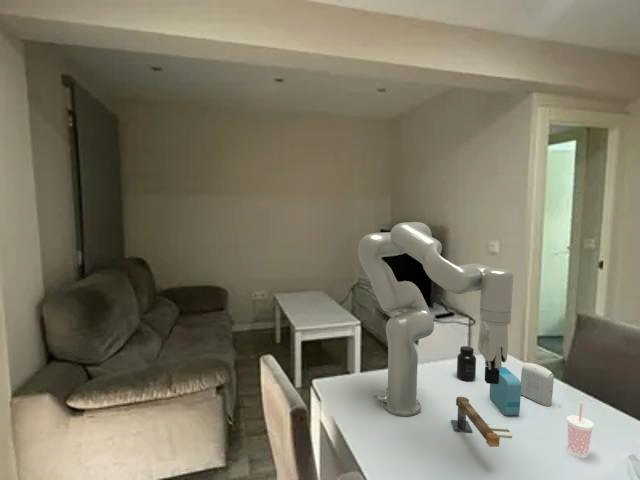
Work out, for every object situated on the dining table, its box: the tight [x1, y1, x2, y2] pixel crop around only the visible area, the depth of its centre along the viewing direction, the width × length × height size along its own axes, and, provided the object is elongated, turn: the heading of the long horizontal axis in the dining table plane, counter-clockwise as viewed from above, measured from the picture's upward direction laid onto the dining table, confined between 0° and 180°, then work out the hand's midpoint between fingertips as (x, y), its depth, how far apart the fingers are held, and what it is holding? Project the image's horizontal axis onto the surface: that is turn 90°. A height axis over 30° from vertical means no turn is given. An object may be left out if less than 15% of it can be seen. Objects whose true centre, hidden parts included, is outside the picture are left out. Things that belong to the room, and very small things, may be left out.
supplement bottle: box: [456, 345, 477, 382], centre depth 150 cm, size 7×7×12 cm
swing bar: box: [455, 396, 501, 448], centre depth 108 cm, size 21×4×2 cm, turn 3°
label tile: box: [487, 424, 513, 439], centre depth 115 cm, size 7×5×1 cm
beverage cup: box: [566, 403, 595, 459], centre depth 105 cm, size 6×6×14 cm
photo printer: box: [520, 362, 555, 407], centre depth 134 cm, size 10×4×12 cm, turn 31°
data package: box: [489, 366, 522, 416], centre depth 128 cm, size 12×4×12 cm, turn 0°
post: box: [450, 406, 473, 434], centre depth 117 cm, size 5×5×7 cm
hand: (491, 382), depth 103 cm, fingers closed
